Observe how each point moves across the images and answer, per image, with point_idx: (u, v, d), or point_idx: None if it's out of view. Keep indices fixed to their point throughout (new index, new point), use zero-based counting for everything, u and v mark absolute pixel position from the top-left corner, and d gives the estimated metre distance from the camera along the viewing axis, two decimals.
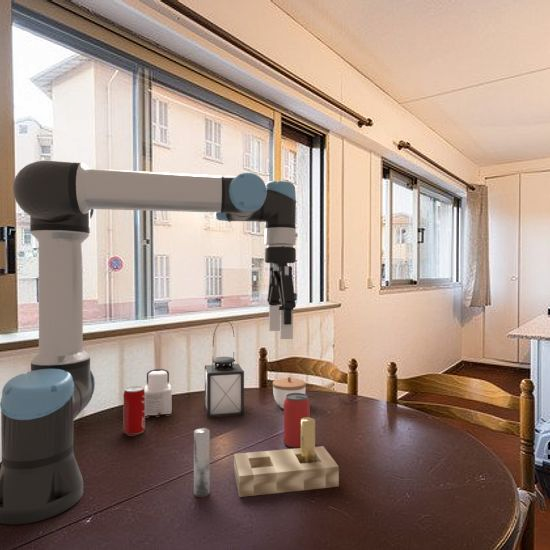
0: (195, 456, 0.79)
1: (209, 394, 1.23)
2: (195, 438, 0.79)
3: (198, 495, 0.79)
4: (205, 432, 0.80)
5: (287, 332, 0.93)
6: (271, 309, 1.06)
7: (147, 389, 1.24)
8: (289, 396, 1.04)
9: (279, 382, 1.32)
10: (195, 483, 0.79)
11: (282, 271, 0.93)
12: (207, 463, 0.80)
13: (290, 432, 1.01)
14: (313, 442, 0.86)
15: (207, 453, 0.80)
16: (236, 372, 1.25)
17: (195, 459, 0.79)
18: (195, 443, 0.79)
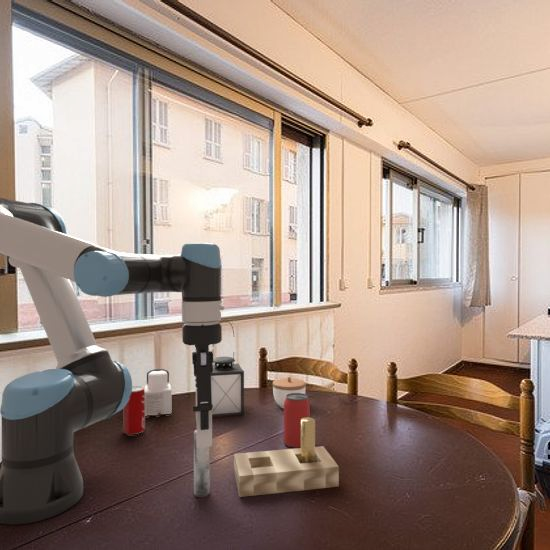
0: (195, 456, 0.79)
1: None
2: (195, 438, 0.79)
3: (198, 495, 0.79)
4: None
5: (205, 438, 0.73)
6: None
7: (147, 389, 1.24)
8: (289, 396, 1.04)
9: (279, 382, 1.32)
10: (195, 483, 0.79)
11: (198, 360, 0.73)
12: (207, 463, 0.80)
13: (290, 432, 1.01)
14: (313, 442, 0.86)
15: (207, 453, 0.80)
16: (236, 372, 1.25)
17: (195, 459, 0.79)
18: (195, 443, 0.79)
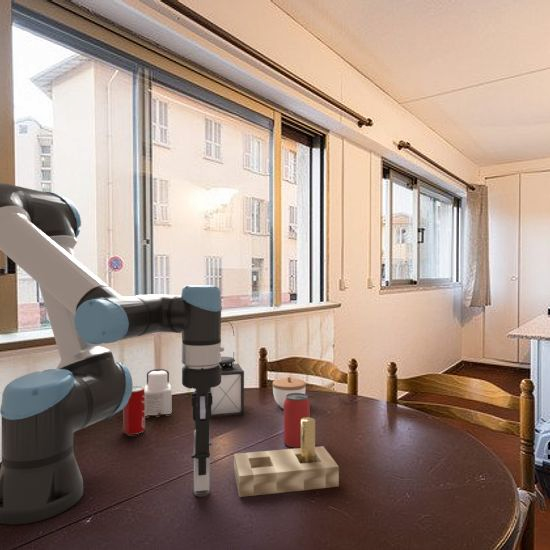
0: None
1: None
2: (195, 438, 0.79)
3: (198, 495, 0.79)
4: None
5: (202, 482, 0.78)
6: None
7: (147, 389, 1.24)
8: (289, 396, 1.04)
9: (279, 382, 1.32)
10: None
11: (197, 416, 0.74)
12: None
13: (290, 432, 1.01)
14: (313, 442, 0.86)
15: None
16: (236, 372, 1.25)
17: None
18: (195, 443, 0.79)
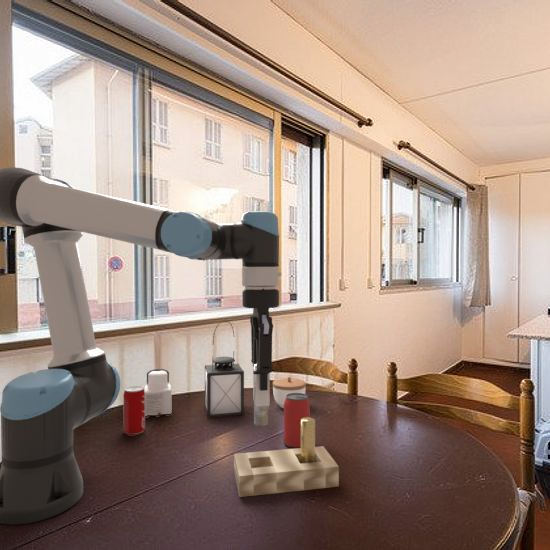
0: None
1: (209, 394, 1.23)
2: None
3: (259, 424, 0.83)
4: None
5: (263, 398, 0.83)
6: None
7: (147, 389, 1.24)
8: (289, 396, 1.04)
9: (279, 382, 1.32)
10: (256, 413, 0.84)
11: (261, 331, 0.78)
12: None
13: (290, 432, 1.01)
14: (313, 442, 0.86)
15: None
16: (236, 372, 1.25)
17: None
18: None
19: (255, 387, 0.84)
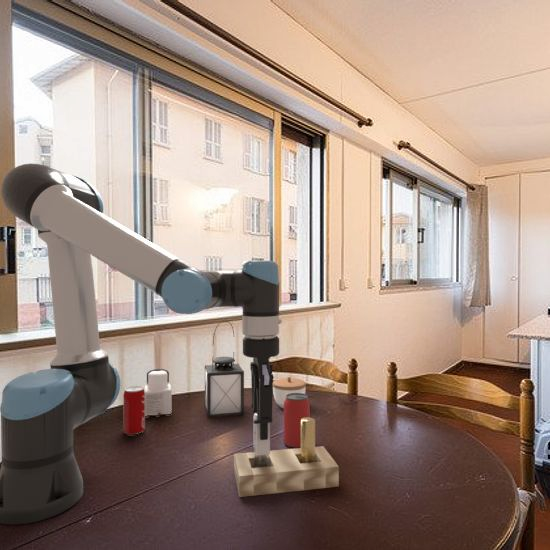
0: None
1: (209, 394, 1.23)
2: None
3: None
4: None
5: (263, 447, 0.83)
6: None
7: (147, 389, 1.24)
8: (289, 396, 1.04)
9: (279, 382, 1.32)
10: (256, 463, 0.84)
11: (261, 382, 0.79)
12: None
13: (290, 432, 1.01)
14: (313, 442, 0.86)
15: None
16: (236, 372, 1.25)
17: None
18: None
19: (255, 437, 0.84)
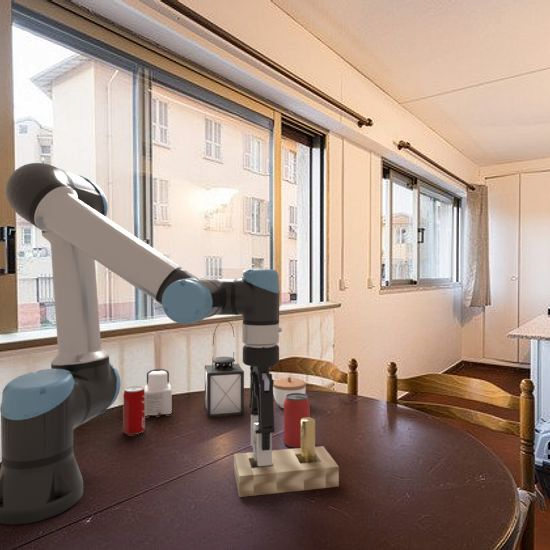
0: (255, 446, 0.84)
1: (209, 394, 1.23)
2: (255, 429, 0.84)
3: None
4: None
5: (265, 458, 0.80)
6: (253, 420, 0.89)
7: (147, 389, 1.24)
8: (289, 396, 1.04)
9: (279, 382, 1.32)
10: None
11: (261, 387, 0.78)
12: None
13: (290, 432, 1.01)
14: (313, 442, 0.86)
15: None
16: (236, 372, 1.25)
17: (255, 449, 0.84)
18: (255, 434, 0.84)
19: (254, 446, 0.84)
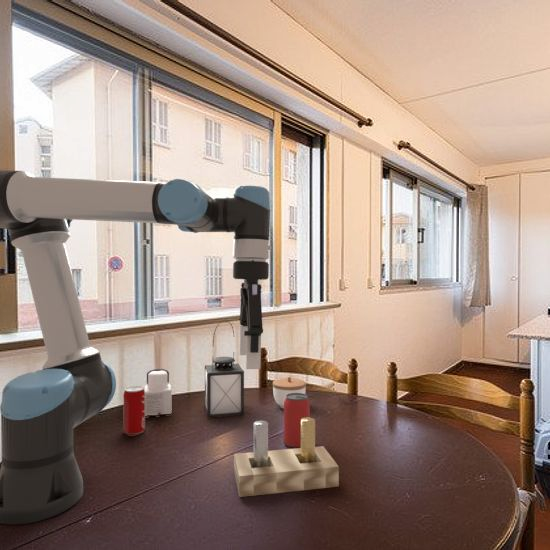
0: (255, 446, 0.84)
1: (209, 394, 1.23)
2: (255, 429, 0.84)
3: None
4: (264, 424, 0.84)
5: (254, 361, 0.80)
6: (242, 330, 0.93)
7: (147, 389, 1.24)
8: (289, 396, 1.04)
9: (279, 382, 1.32)
10: None
11: (249, 290, 0.80)
12: (266, 453, 0.84)
13: (290, 432, 1.01)
14: (313, 442, 0.86)
15: (266, 444, 0.84)
16: (236, 372, 1.25)
17: (255, 449, 0.84)
18: (255, 434, 0.84)
19: (254, 446, 0.84)
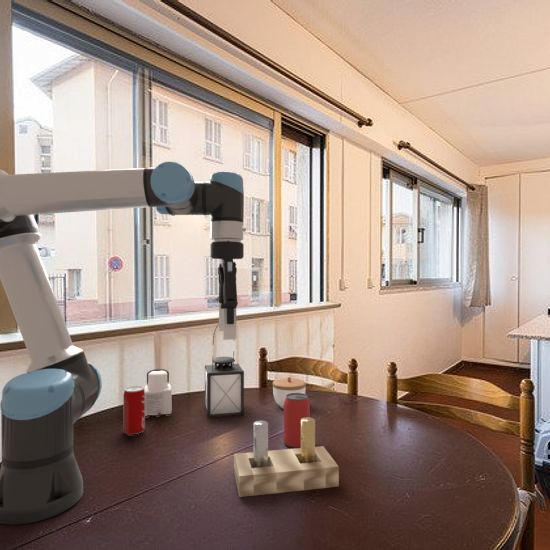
0: (255, 446, 0.84)
1: (209, 394, 1.23)
2: (255, 429, 0.84)
3: None
4: (264, 424, 0.84)
5: (230, 332, 0.87)
6: (221, 308, 1.00)
7: (147, 389, 1.24)
8: (289, 396, 1.04)
9: (279, 382, 1.32)
10: None
11: (225, 267, 0.87)
12: (266, 453, 0.84)
13: (290, 432, 1.01)
14: (313, 442, 0.86)
15: (266, 444, 0.84)
16: (236, 372, 1.25)
17: (255, 449, 0.84)
18: (255, 434, 0.84)
19: (254, 446, 0.84)
